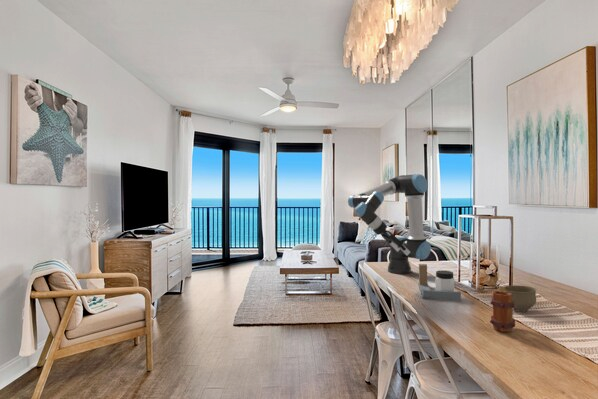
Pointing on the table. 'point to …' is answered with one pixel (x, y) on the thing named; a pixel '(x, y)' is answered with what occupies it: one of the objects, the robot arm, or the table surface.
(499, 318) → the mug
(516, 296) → the bowl
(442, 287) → the jar
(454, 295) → the pull strip
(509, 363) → the table surface
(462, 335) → the table surface
